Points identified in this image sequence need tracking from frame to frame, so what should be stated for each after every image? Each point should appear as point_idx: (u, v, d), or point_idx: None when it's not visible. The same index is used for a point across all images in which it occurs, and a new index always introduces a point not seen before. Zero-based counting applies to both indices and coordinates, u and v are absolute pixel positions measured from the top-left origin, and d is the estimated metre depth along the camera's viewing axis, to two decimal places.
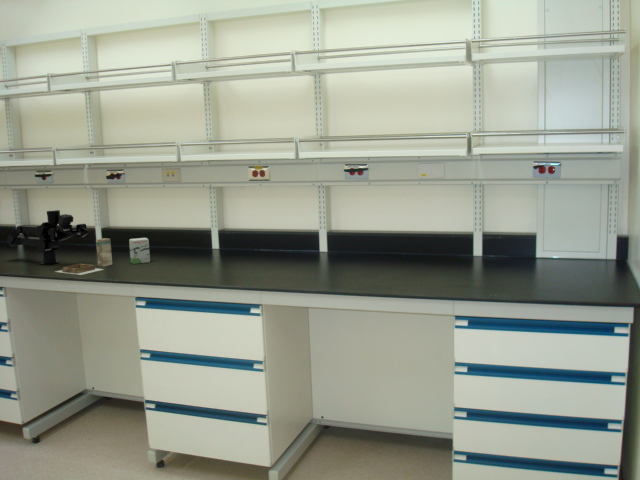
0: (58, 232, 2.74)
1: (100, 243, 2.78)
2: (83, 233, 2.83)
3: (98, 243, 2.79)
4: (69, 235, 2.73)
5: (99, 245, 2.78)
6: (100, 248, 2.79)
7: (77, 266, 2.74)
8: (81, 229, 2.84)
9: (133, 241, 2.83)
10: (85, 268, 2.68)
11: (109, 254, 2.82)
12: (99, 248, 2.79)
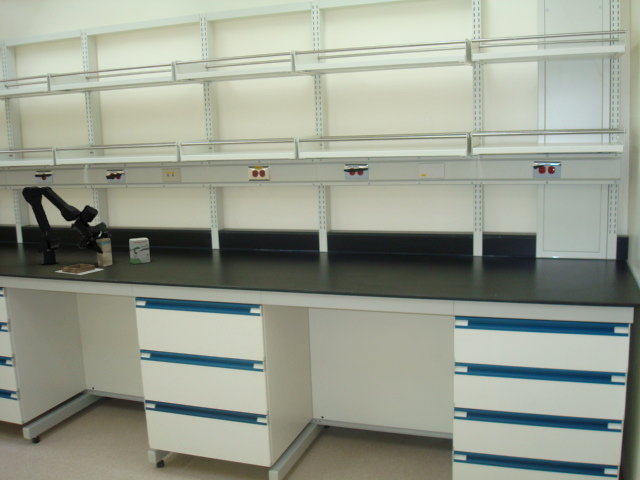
0: (91, 243, 2.76)
1: (100, 243, 2.78)
2: None
3: (98, 243, 2.79)
4: (99, 251, 2.78)
5: (99, 245, 2.79)
6: None
7: (77, 266, 2.74)
8: None
9: (133, 241, 2.83)
10: (85, 268, 2.68)
11: (109, 254, 2.82)
12: None
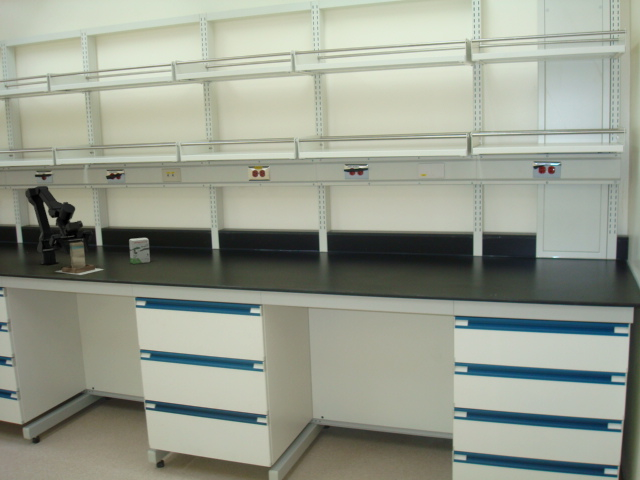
0: (57, 242, 2.65)
1: (71, 247, 2.66)
2: (84, 245, 2.73)
3: (70, 247, 2.67)
4: (65, 252, 2.65)
5: (71, 249, 2.67)
6: (71, 252, 2.67)
7: None
8: (84, 240, 2.73)
9: (133, 241, 2.83)
10: (85, 268, 2.68)
11: (81, 259, 2.69)
12: (71, 252, 2.68)
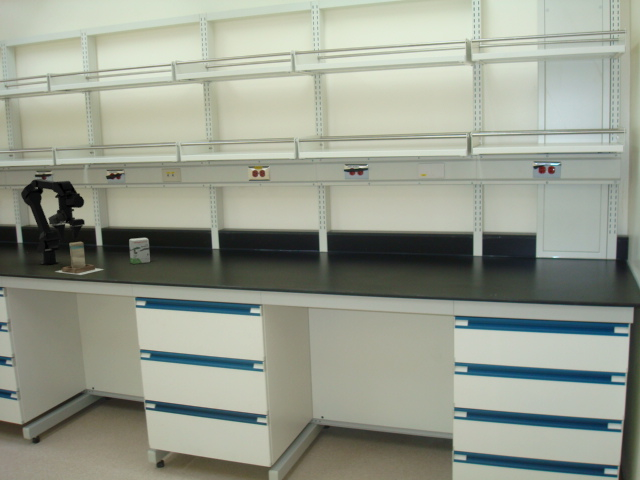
0: None
1: (71, 247, 2.66)
2: None
3: (70, 247, 2.68)
4: None
5: (71, 249, 2.67)
6: (71, 252, 2.67)
7: None
8: None
9: (133, 241, 2.83)
10: (85, 268, 2.68)
11: (81, 259, 2.69)
12: (71, 252, 2.68)
